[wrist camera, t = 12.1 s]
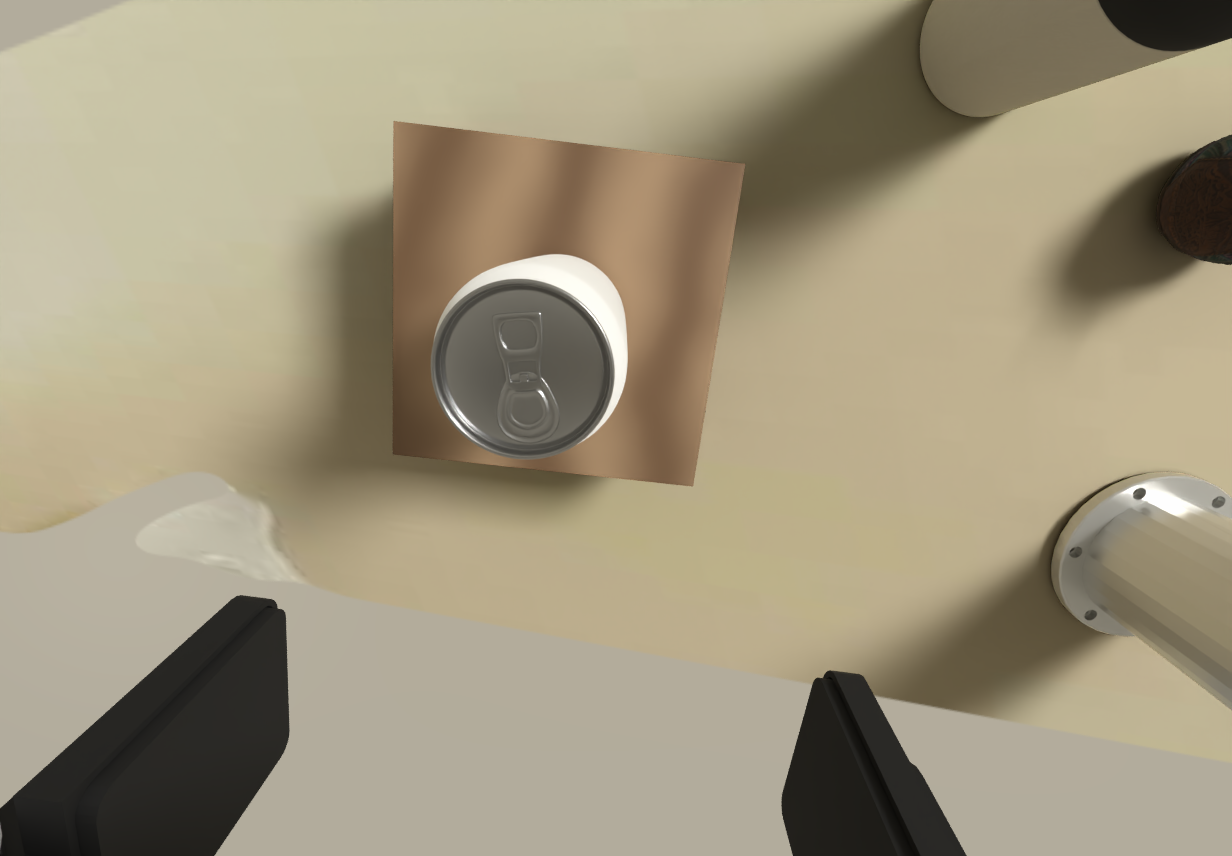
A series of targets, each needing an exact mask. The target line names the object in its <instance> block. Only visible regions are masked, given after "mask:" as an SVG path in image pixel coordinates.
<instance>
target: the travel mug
mask: <svg viewBox="0 0 1232 856" xmlns="http://www.w3.org/2000/svg"><path fill="white" fill-rule="evenodd" d="M1230 38H1232V0H933V2H932V3H931V5H930V7H929V10H928V12H927V14H926V17H925V20H924V24H923V27H922V32H921V38H920V61H921V67H922V71H923V75H924V77H925V80H926V82H927V84H928V86H929V88H930V90H931V91H932V93H933V94H934V95H935V97H936V98H937V99H938V100H939V101H940V102H941V103H942V104H943V105H945V106H946V107H947V108H949V109H951V110H953V111H954V112H957V113H959V114H962V115H966V116H971V117H988V116H994V115H998V114H1001V113H1004V112H1007V111H1011V110H1014V109H1017V108H1020V107H1023V106H1026V105H1029V104H1032V103H1035V102H1038V101H1041V100H1044V99H1047V98H1050V97H1053V96H1056V95H1059V94H1062V93H1065V92H1069V91H1072V90H1075V89H1078V88H1081V87H1084V86H1087V85H1090V84H1093V83H1096V82H1099V81H1102V80H1105V79H1108V78H1111V77H1114V76H1117V75H1120V74H1123V73H1127V72H1130V71H1133V70H1136V69H1139V68H1142V67H1145V66H1148V65H1151V64H1154V63H1157V62H1160V61H1163V60H1166V59H1169V58H1172V57H1175V56H1178V55H1181V54H1184V53H1188V52H1191V51H1194V50H1197V49H1200V48H1203V47H1206V46H1209V45H1212V44H1215V43H1218V42H1221V41H1224V40H1227V39H1230Z"/></svg>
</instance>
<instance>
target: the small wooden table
mask: <svg viewBox="0 0 1232 856" xmlns="http://www.w3.org/2000/svg"><path fill="white" fill-rule="evenodd" d="M744 170H745V164H741V163H733V162H725V161H717V160H709V159H700V158H692V157H684V156H676V155H668V154H659V153H651V152H643V151H635V150H627V149H618V148H610V147H602V146H594V145H586V144H577V143H569V142H561V141H553V140H545V139H536V138H528V137H520V136H512V135H504V134H495V133H487V132H479V131H471V130H463V129H454V128H446V127H438V126H430V125H422V124H413V123H405V122H397V121H394V137H393V454H395V455H405V456H414V457H423V458H433V459H442V460H451V461H461V462H470V463H479V464H489V465H498V466H507V467H517V468H526V469H535V470H545V471H554V472H563V473H573V474H582V475H591V476H601V477H610V478H619V479H629V480H638V481H647V482H657V483H666V484H675V485H684V486H693V483H694V477H695V471H696V465H697V459H698V452H699V446H700V440H701V434H702V428H703V422H704V416H705V409H706V403H707V397H708V391H709V385H710V379H711V372H712V366H713V360H714V354H715V348H716V342H717V336H718V329H719V323H720V317H721V311H722V305H723V299H724V293H725V286H726V280H727V274H728V268H729V262H730V256H731V249H732V243H733V237H734V231H735V225H736V219H737V213H738V206H739V200H740V194H741V188H742V182H743V176H744ZM550 254H563V255H570V256H574V257H577V258H580V259H583V260H585V261H587V262H589V263H591V264H593V265H594V266H596V267H597V268H598V269H600V270H601V271H602V272H603V273H604V274H605V275H606V276H607V277H608V278H609V279H610V281H611V282H612V283H613V285H614V286H615V288H616V290H617V291H618V293H619V296H620V298H621V301H622V304H623V308H624V312H625V319H626V331H627V350H628V363H627V374H626V380H625V384H624V388H623V391H622V394H621V397H620V399H619V401H618V403H617V405H616V407H615V409H614V411H613V412H612V414H611V415H610V417H609V418H608V419H607V421H606V422H605V423H604V424H603V425H602V426H601V427H600V428H599V429H598V430H597V431H596V432H595V433H594V434H593V435H591V436H590V437H589V438H587V439H586V440H584V441H582V442H581V443H579V444H577V445H575V446H574V447H572V448H570V449H569V450H567V451H564V452H562V453H560V454H557V455H554V456H550V457H546V458H541V459H530V460H524V459H513V458H507V457H503V456H500V455H496V454H494V453H491V452H489V451H486V450H484V449H482V448H481V447H479V446H477V445H475V444H474V443H472V442H471V441H470V440H468V439H467V438H466V437H465V436H463V435H462V434H461V433H460V432H459V431H458V430H457V429H456V428H455V427H454V426H453V424H452V423H451V422H450V421H449V419H448V418H447V416H446V415H445V413H444V412H443V410H442V408H441V406H440V404H439V402H438V399H437V397H436V394H435V391H434V387H433V383H432V377H431V353H432V347H433V342H434V336H435V332H436V328H437V325H438V322H439V320H440V318H441V315H442V313H443V311H444V310H445V308H446V306H447V305H448V303H449V302H450V300H451V299H452V298H453V297H454V295H455V294H456V293H457V292H458V291H459V290H460V289H461V288H462V287H463V286H464V285H465V284H467V283H468V282H469V281H470V280H472V279H473V278H475V277H476V276H478V275H480V274H481V273H483V272H485V271H487V270H490V269H492V268H494V267H497V266H500V265H503V264H507V263H511V262H515V261H519V260H523V259H527V258H532V257H537V256H542V255H550Z"/></svg>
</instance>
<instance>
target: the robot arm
mask: <svg viewBox="0 0 1232 856" xmlns="http://www.w3.org/2000/svg"><path fill="white" fill-rule="evenodd" d="M1051 577H1052V582H1053V586H1054V590H1055V592H1056V594H1057V596H1058V598H1059V600H1060V602H1061V603H1062V605H1063V606H1064V607H1065V608H1066V609H1067V610H1068V611H1069V612H1070V613H1071V614H1072V615H1073V616H1074V617H1076V618H1077V619H1078V620H1079V621H1081V622H1082V623H1083V624H1085V625H1087V626H1089V627H1091V628H1092V629H1094V630H1096V631H1099V632H1103V633H1106V634H1110V635H1117V636H1126V637H1129V636H1136V637H1138V638H1139V639H1140V640H1141V641H1143V642H1144V643H1145V644H1147V645H1148V646H1149V647H1150V648H1152V649H1153V650H1154V651H1156V652H1157V653H1158V654H1160V655H1161V656H1162V657H1163V658H1165V659H1166V660H1167V661H1169V662H1170V663H1171V664H1172V665H1174V666H1175V667H1176V668H1178V669H1179V670H1180V671H1182V672H1183V673H1184V674H1185V675H1187V676H1188V677H1189V678H1191V679H1192V680H1193V681H1194V682H1196V683H1197V684H1198V685H1200V686H1201V687H1202V688H1203V689H1205V690H1206V691H1207V692H1209V693H1210V694H1211V695H1213V696H1214V697H1215V698H1216V699H1218V700H1219V701H1220V702H1222V703H1223V704H1224V705H1225V706H1227V707H1228V708H1229V709H1231V710H1232V498H1231V496H1230V495H1229V494H1227V493H1226V492H1225V491H1223V490H1222V489H1221V488H1219V487H1218V486H1216V485H1214V484H1212V483H1209V482H1207V481H1205V480H1203V479H1201V478H1198V477H1195V476H1191V475H1188V474H1185V473H1177V472H1168V471H1167V472H1152V473H1146V474H1142V475H1138V476H1133V477H1130V478H1128V479H1125V480H1123V481H1120V482H1118V483H1115V484H1113V485H1111V486H1110V487H1108V488H1106V489H1104V490H1103V491H1101V492H1099V493H1098V494H1096V495H1095V496H1094V497H1093V498H1091V499H1090V500H1089V501H1088V502H1086V503H1085V504H1084V505H1083V506H1082V507H1081V508H1080V509H1079V510H1078V511H1077V512H1076V513H1075V514H1074V515H1073V517H1072V518H1071V519H1070V520H1069V522H1068V523H1067V525H1066V526H1065V528H1064V529H1063V531H1062V533H1061V534H1060V537H1059V539H1058V541H1057V544H1056V546H1055V548H1054V553H1053V558H1052V563H1051ZM288 738H289V704H288V672H287V640H286V615H285V612H284V610H282V609H278V608H277V604H276V602H275V601H274V600H272V599H266V598H258V597H250V596H243V595H240V596H236V597H235V598H233V599H232V600H231V601H229V602H228V603H227V604H226V605H225V606H224V607H223V608H222V609H221V610H219V611H218V612H217V613H216V614H215V615H214V616H213V617H212V618H211V619H210V620H208V621H207V622H206V623H205V624H204V625H203V626H202V627H201V628H200V629H198V630H197V631H196V632H195V633H194V634H193V635H192V636H191V637H189V638H188V639H187V640H186V641H185V642H184V643H183V644H182V645H181V646H179V647H178V648H177V649H176V650H175V651H174V652H173V653H172V654H171V655H169V656H168V657H167V658H166V659H165V660H164V661H163V662H162V663H161V664H159V665H158V666H157V667H156V668H155V669H154V670H153V671H152V672H151V673H150V674H148V675H147V676H146V677H145V678H144V679H143V680H142V681H141V682H139V684H137V685H136V686H135V687H134V688H133V689H132V690H131V691H130V692H128V693H127V694H126V695H125V696H124V697H123V698H122V699H121V700H120V701H118V702H117V703H116V704H115V705H114V706H113V707H112V708H111V709H110V710H108V711H107V712H106V713H105V714H104V715H103V716H102V717H101V718H99V719H98V720H97V721H96V722H95V723H94V724H93V725H92V726H91V727H89V728H88V729H87V730H86V731H85V732H84V733H83V734H82V735H81V736H79V737H78V738H77V739H76V740H75V741H74V742H73V743H72V744H71V745H69V746H68V747H67V748H66V749H65V750H64V751H63V752H62V753H61V754H60V755H58V756H57V757H56V758H55V759H54V760H53V761H52V762H51V763H50V764H48V766H46V767H45V768H44V769H43V770H42V771H41V772H39V773H38V774H37V775H36V776H35V777H34V778H33V779H32V780H31V781H30V782H28V783H27V784H26V785H25V786H24V787H23V788H22V789H21V790H19V791H18V792H17V793H16V794H15V795H14V796H13V797H12V798H11V799H10V800H9V801H8V802H7V803H6V804H5V805H4V806H2V807H1V808H0V856H214V855H215V854H216V852H217V850H218V849H219V848H220V846H221V845H222V843H223V842H224V840H225V839H226V837H227V836H228V835H229V833H230V832H231V830H232V829H233V827H234V826H235V824H236V823H237V821H238V820H239V818H240V817H241V815H242V814H243V812H244V811H245V810H246V808H247V807H248V805H249V803H250V802H251V801H252V799H253V798H254V796H255V795H256V793H257V792H258V790H259V789H260V787H261V786H262V784H263V783H264V781H265V780H266V778H267V777H268V775H269V774H270V773H271V771H272V770H273V768H274V767H275V765H276V764H277V762H278V761H279V759H280V758H281V756H282V754H283V753H284V750H285V748H286V745H287V742H288ZM782 815H783V820H784V823H785V827H786V831H787V835H788V839H789V843H790V846H791V850H792V854H793V856H966V854H965V852H964V850H963V848H962V847H961V845H960V843H959V841H958V839H957V837H956V836H955V834H954V832H953V830H952V828H951V827H950V825H949V823H948V821H947V819H946V817H945V816H944V814H943V812H942V810H941V808H940V806H939V805H938V803H937V801H936V799H935V797H934V796H933V794H932V792H931V790H930V788H929V787H928V785H927V783H926V781H925V779H924V778H923V775H922V774H921V773H920V771H919V770H918V768H917V767H916V766H915V765H913V764H912V763H910V761H909V760H908V758H907V756H906V754H905V752H904V751H903V748H902V747H901V745H900V743H899V741H898V739H897V737H896V736H895V734H894V732H893V730H892V728H891V726H890V724H889V723H888V721H887V719H886V717H885V715H884V713H883V711H882V710H881V708H880V706H879V704H878V702H877V700H876V698H875V697H874V695H873V693H872V691H871V689H870V687H869V685H868V684H867V682H866V680H865V679H864V677H863V676H862V675H860V674H853V673H845V672H838V671H827V672H826V673H825V674H824V677H823V678H816V679H815V680H814V682H813V685H812V688H811V692H810V696H809V699H808V703H807V706H806V710H805V714H804V717H803V721H802V725H801V728H800V732H799V735H798V739H797V742H796V746H795V750H794V753H793V757H792V760H791V765H790V768H789V771H788V775H787V779H786V782H785V786H784V790H783V794H782Z"/></svg>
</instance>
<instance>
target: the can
mask: <svg viewBox="0 0 1232 856" xmlns="http://www.w3.org/2000/svg"><path fill="white" fill-rule="evenodd" d="M627 363H628V350H627V331H626V319H625V312H624V308H623V304H622V301H621V298H620V296H619V293H618V291H617V290H616V288H615V286H614V285H613V283H612V282H611V281H610V279H609V278H608V277H607V276H606V275H605V274H604V273H603V272H602V271H601V270H600V269H598V268H597V267H596V266H594V265H593V264H591V263H589V262H587V261H585V260H583V259H580V258H577V257H574V256H570V255H563V254H550V255H542V256H537V257H532V258H527V259H523V260H519V261H515V262H511V263H507V264H503V265H500V266H497V267H494V268H492V269H490V270H487V271H485V272H483V273H481V274H480V275H478V276H476V277H475V278H473V279H472V280H470V281H469V282H468V283H467V284H465V285H464V286H463V287H462V288H461V289H460V290H459V291H458V292H457V293H456V294H455V295H454V297H453V298H452V299H451V300H450V302H449V303H448V305H447V306H446V308H445V310H444V311H443V313H442V315H441V318H440V320H439V322H438V325H437V328H436V332H435V336H434V342H433V347H432V353H431V377H432V383H433V387H434V391H435V394H436V397H437V399H438V402H439V404H440V406H441V408H442V410H443V412H444V413H445V415H446V416H447V418H448V419H449V421H450V422H451V423H452V424H453V426H454V427H455V428H456V429H457V430H458V431H459V432H460V433H461V434H462V435H463V436H465V437H466V438H467V439H468V440H470V441H471V442H472V443H474V444H475V445H477V446H479V447H481V448H482V449H484V450H486V451H489V452H491V453H494V454H496V455H500V456H503V457H507V458H513V459H524V460H530V459H541V458H546V457H550V456H554V455H557V454H560V453H562V452H564V451H567V450H569V449H570V448H572V447H574V446H575V445H577V444H579V443H581V442H582V441H584V440H586V439H587V438H589V437H590V436H591V435H593V434H594V433H595V432H596V431H597V430H598V429H599V428H600V427H601V426H602V425H603V424H604V423H605V422H606V421H607V419H608V418H609V417H610V415H611V414H612V412H613V411H614V409H615V407H616V405H617V403H618V401H619V399H620V397H621V394H622V391H623V388H624V384H625V380H626V374H627Z"/></svg>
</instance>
